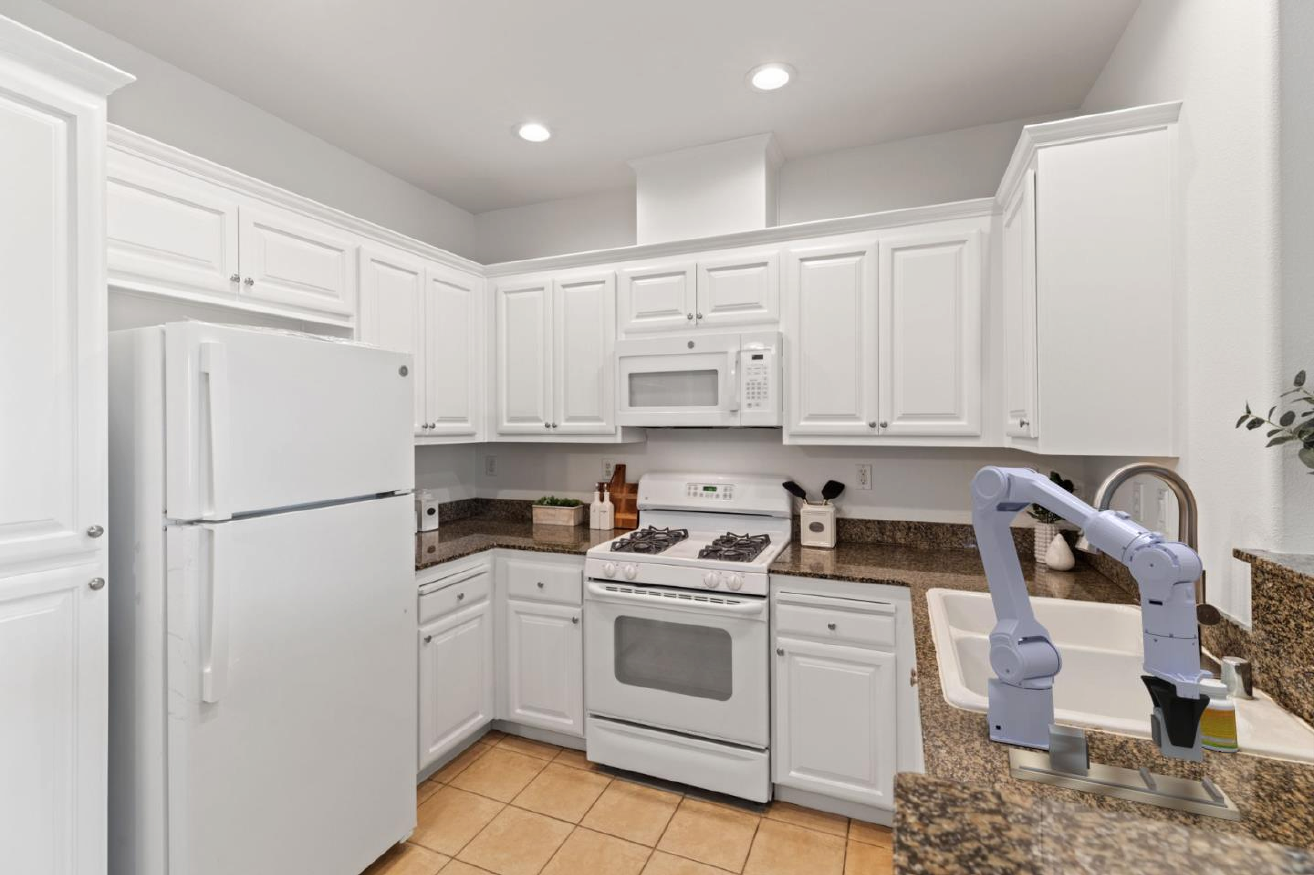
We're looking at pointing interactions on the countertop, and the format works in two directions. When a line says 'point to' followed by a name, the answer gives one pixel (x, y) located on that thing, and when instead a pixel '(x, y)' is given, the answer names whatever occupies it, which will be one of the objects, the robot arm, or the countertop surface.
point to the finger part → (1165, 745)
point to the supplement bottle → (1218, 718)
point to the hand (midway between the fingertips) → (1176, 740)
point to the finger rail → (1116, 777)
